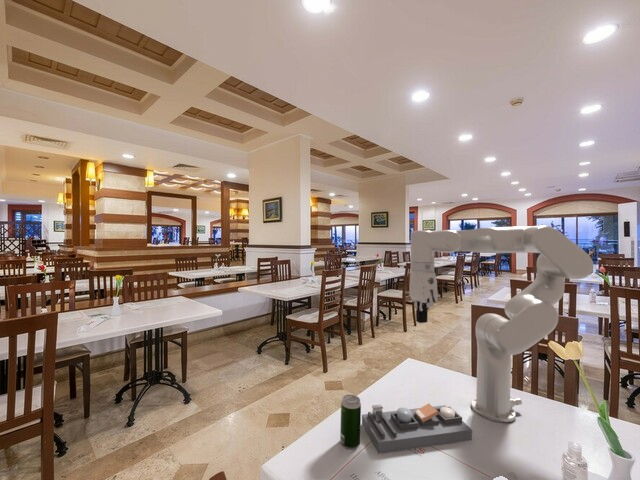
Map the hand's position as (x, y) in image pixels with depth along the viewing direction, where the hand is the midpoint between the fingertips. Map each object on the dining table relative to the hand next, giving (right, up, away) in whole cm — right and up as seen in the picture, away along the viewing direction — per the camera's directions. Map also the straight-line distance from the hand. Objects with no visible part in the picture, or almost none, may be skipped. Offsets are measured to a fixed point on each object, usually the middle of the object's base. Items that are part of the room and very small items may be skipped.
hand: (421, 321), depth 97 cm
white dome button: (+4, -25, -11) cm, 28 cm away
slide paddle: (-17, -25, -13) cm, 33 cm away
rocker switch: (-3, -23, -13) cm, 27 cm away
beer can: (-26, -28, -19) cm, 42 cm away
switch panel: (-7, -28, -13) cm, 32 cm away
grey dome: (-10, -24, -14) cm, 29 cm away
